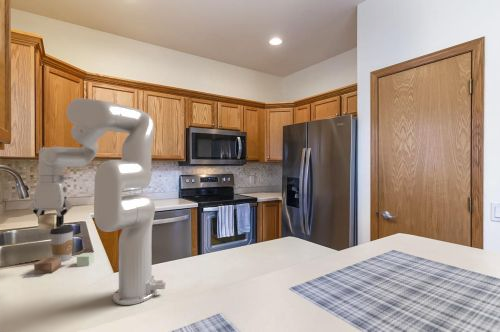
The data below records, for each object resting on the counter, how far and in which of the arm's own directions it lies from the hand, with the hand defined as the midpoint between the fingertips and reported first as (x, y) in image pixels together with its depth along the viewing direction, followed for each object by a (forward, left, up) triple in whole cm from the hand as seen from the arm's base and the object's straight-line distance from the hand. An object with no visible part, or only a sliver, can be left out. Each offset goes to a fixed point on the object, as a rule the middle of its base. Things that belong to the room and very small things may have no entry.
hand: (51, 225), depth 100 cm
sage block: (-10, -5, -18) cm, 22 cm away
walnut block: (+1, 0, -18) cm, 18 cm away
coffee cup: (+3, -13, -19) cm, 23 cm away
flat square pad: (+1, 0, -18) cm, 18 cm away
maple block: (0, 0, -1) cm, 1 cm away
